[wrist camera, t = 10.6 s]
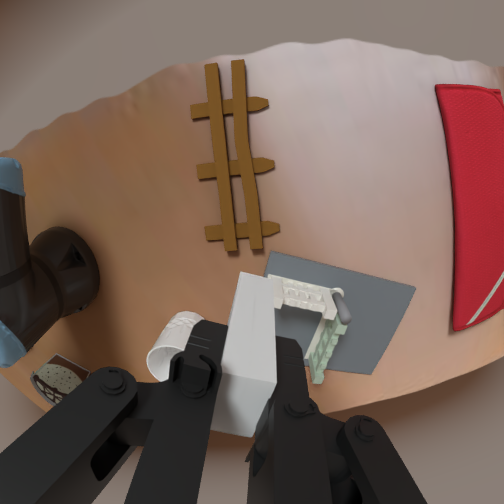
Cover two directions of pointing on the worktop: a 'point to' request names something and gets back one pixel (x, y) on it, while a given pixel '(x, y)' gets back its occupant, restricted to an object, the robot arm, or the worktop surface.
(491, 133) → the dish drying mat
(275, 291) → the fixed fence panel
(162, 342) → the white cup
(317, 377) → the hinged fence panel
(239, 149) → the decorative fence
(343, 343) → the card
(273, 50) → the worktop surface
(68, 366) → the food container
